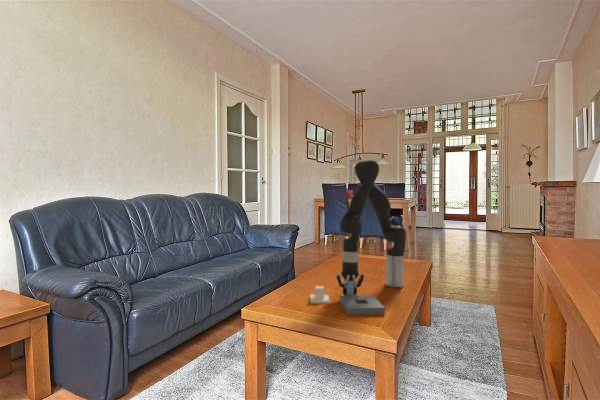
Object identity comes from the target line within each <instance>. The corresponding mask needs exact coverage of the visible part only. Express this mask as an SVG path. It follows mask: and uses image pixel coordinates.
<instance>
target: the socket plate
mask: <svg viewBox="0 0 600 400" xmlns="http://www.w3.org/2000/svg"><path fill="white" fill-rule="evenodd" d="M339 303H340V305H341V307H342V309H343V310H344V312H345V313H346V315H347V316H374V315H375V316H376V315H377V316H378V315H382V316H383V315H386V307H385V306H384V305H383V304H382V303H381V302H380V300H378V299H377V298H376V296H374V295H355V296H345V295H340V296H339Z"/></svg>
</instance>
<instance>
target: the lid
mask: <svg viewBox="0 0 600 400" xmlns="http://www.w3.org/2000/svg"><path fill="white" fill-rule="evenodd" d="M314 290H315V291H314V292H315V293H314V294H312V293H311V294H310V295H309V304H324V305H325V304H330V297H329V296H330V295H329V294H325V286H324V285H321V286H320V285H315V289H314Z"/></svg>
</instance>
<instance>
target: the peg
mask: <svg viewBox="0 0 600 400" xmlns="http://www.w3.org/2000/svg"><path fill="white" fill-rule="evenodd" d="M346 296H354V282H353V281H348V283H347V286H346Z"/></svg>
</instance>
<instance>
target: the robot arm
mask: <svg viewBox="0 0 600 400" xmlns="http://www.w3.org/2000/svg"><path fill="white" fill-rule="evenodd" d="M354 172H355V175H356V177H357V179H358V181H359V182H360V187H359V188H358V189H357V190H356V191H355V192H354V194H353V195H352V197H351V200H350V203H349V206H348V209H347V211H346V212H345V214H344V216H343V217H342V218H341V221H340V224H339V229H340V231H341V232H342V233H344V234H351V235H350V237H348V238H345V239H343V244H342V265H341V269H342V270H341V273H339V274H338V273H336V275H335V276H336V280H337V283H338V286H339V287H340V288H342V294H343V296H346V286H347V283H348V281H353V282H354V296H357V293H358V288H361V286H362V284H363V280H364V278H365V275H364V274H363V273H359V246H358V244H359V240H360V236H361V234H362V230H363V228H362V227H363V225H362V222H361V221H360V220H359V219H355V218H359V217H362V214H363V211H364V208H365V205H366V202H367V198H368V199H369V202H370V204H371V206H372V209H373V211H374V212H375V216H376V218H377V221H378V223H379V226H380V228H381V232H382V235H383V237H384V239H385V240H386V241H387V242H389V243H393V246H392V247H390V248H387V249H386V267H385V272H386V273H385V285H386V287H389V286H390V288H395V287H400V288H402V286H403V287H404V264H405V262H404V261H405V252H406V244H407V243H406V241H407V233H406V232H407V231H406V229H405V228H404V227H403V226H396V225H393V224H392V222H391V220H390V214H391V208H392V206H391V202H390V200H389V198H388V196H387V194H386V193H385V192H384V191H383V190H382V189H381V188H379V187H378V186H377V185H376V179H377V177H378V175H379V172H380V166H379V164H378V162H377V161H376V160H374V159H371V160H370V159H369V160H363V161H359V162H356V164H355V165H354ZM342 278H343V283H342V280H341V279H342ZM357 278H358V281H357Z"/></svg>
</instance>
